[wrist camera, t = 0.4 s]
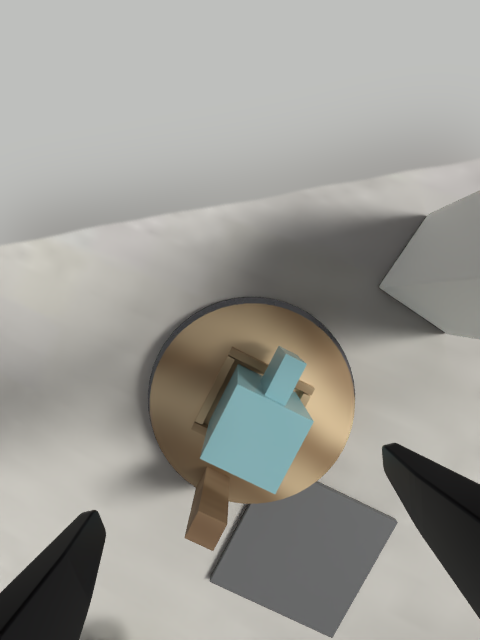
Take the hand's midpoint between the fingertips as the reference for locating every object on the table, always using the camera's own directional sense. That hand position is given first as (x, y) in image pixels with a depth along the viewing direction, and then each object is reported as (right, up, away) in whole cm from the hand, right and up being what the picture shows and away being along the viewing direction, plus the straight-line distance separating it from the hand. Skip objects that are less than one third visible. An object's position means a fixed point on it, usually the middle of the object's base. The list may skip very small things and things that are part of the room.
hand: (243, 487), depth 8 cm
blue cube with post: (+1, 0, +13) cm, 13 cm away
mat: (+5, -15, +15) cm, 22 cm away
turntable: (+1, -1, +14) cm, 14 cm away
